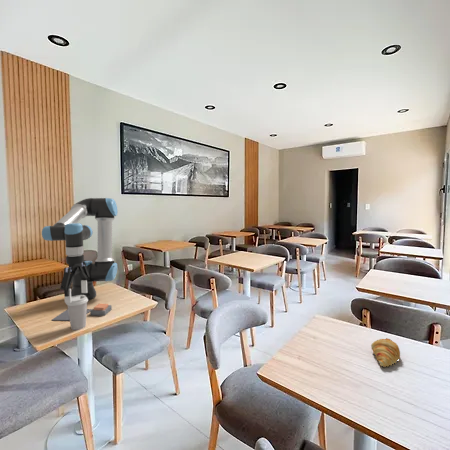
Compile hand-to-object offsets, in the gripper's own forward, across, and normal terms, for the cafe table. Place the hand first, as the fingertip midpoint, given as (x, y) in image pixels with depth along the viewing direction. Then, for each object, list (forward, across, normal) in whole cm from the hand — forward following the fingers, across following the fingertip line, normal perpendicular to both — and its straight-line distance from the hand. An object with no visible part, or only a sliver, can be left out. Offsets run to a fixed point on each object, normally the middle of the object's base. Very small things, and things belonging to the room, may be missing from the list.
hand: (76, 297), depth 130 cm
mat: (+15, -14, -11) cm, 23 cm away
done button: (+14, -17, +3) cm, 22 cm away
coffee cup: (+16, 0, 0) cm, 16 cm away
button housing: (+15, -18, +3) cm, 23 cm away
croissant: (+16, +19, +140) cm, 142 cm away
